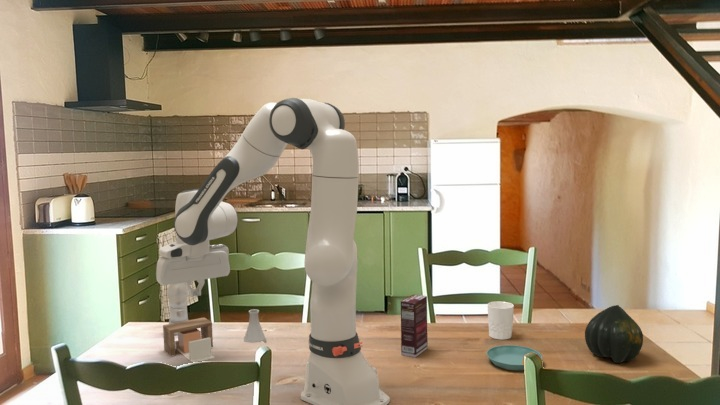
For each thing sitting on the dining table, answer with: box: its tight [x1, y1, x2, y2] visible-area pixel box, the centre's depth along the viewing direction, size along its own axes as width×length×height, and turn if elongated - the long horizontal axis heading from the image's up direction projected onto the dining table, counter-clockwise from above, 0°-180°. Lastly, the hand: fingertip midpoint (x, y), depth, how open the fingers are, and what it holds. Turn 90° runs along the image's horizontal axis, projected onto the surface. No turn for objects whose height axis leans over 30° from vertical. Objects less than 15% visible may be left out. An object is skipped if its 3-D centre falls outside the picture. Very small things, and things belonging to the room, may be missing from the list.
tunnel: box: [162, 317, 214, 357], centre depth 176 cm, size 6×12×8 cm, turn 126°
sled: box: [175, 337, 216, 363], centre depth 173 cm, size 15×6×6 cm, turn 36°
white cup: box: [487, 300, 515, 340], centre depth 187 cm, size 8×8×10 cm
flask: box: [243, 308, 267, 344], centre depth 184 cm, size 7×7×10 cm
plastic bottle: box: [166, 282, 189, 336], centre depth 191 cm, size 6×7×20 cm
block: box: [177, 328, 201, 353], centre depth 176 cm, size 5×5×6 cm
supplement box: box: [400, 294, 429, 358], centre depth 174 cm, size 9×5×16 cm, turn 149°
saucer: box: [486, 344, 543, 372], centre depth 165 cm, size 15×15×3 cm
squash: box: [584, 304, 644, 364], centre depth 168 cm, size 14×15×15 cm
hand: (195, 295), depth 169 cm, fingers closed
